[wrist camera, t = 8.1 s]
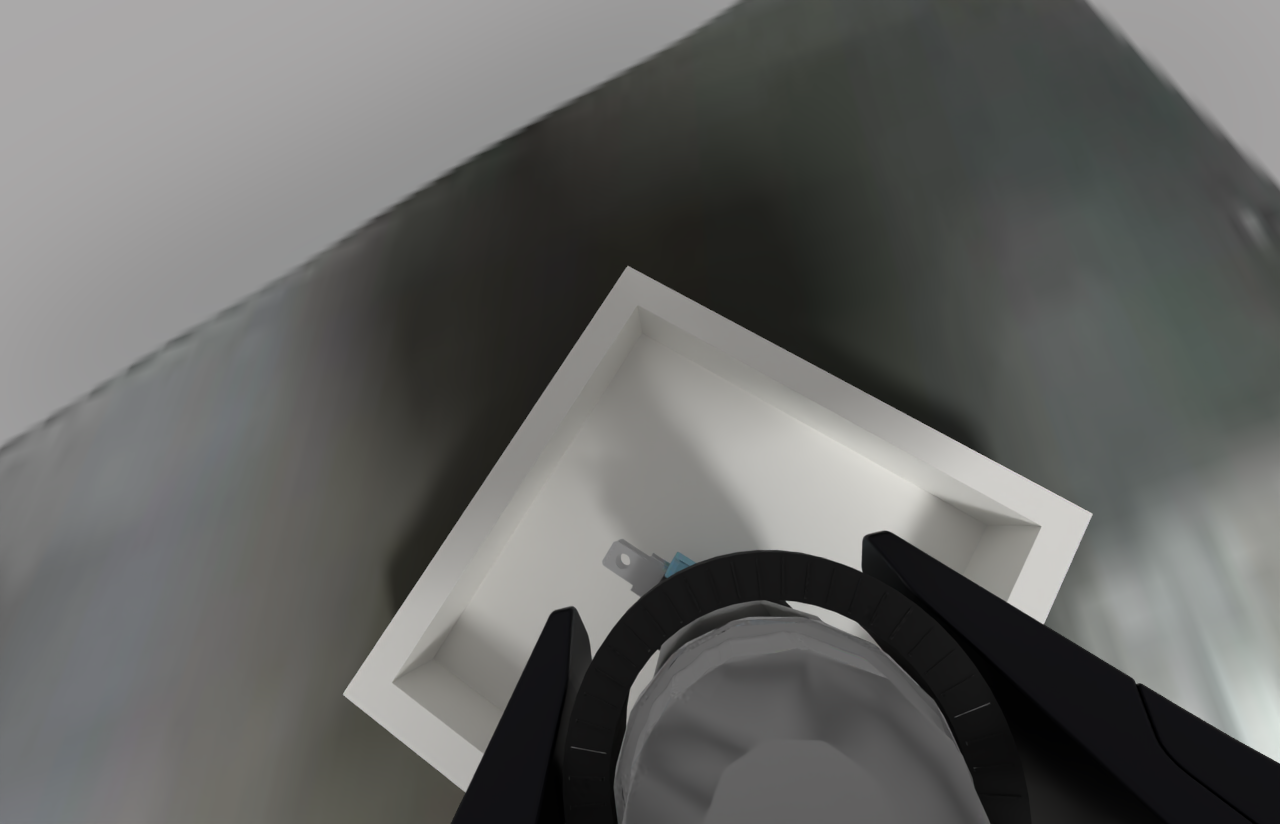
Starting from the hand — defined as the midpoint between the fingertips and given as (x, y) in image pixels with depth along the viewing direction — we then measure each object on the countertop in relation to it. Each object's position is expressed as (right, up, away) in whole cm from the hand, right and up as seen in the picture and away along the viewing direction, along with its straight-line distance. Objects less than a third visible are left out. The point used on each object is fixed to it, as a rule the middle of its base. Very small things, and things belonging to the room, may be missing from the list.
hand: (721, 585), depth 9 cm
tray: (+1, -3, +8) cm, 8 cm away
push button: (+1, -3, +6) cm, 7 cm away
